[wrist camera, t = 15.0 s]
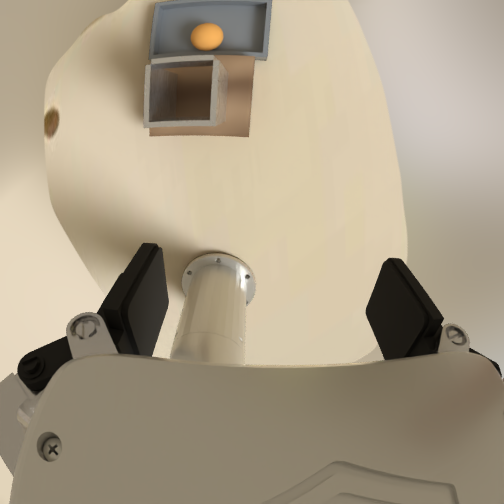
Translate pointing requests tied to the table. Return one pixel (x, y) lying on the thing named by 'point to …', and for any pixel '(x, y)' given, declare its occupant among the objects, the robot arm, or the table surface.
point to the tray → (217, 12)
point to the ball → (207, 36)
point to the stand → (199, 98)
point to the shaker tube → (165, 90)
